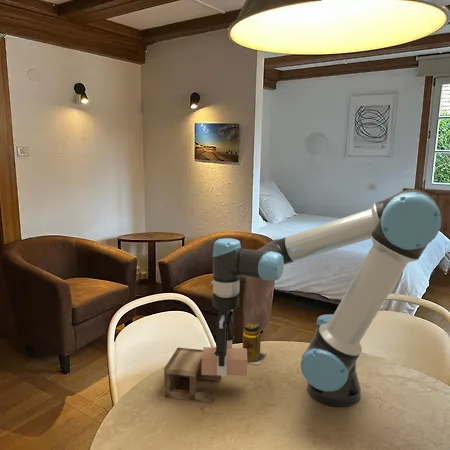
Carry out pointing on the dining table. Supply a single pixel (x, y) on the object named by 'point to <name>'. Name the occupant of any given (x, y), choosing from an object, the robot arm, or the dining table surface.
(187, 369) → the dock
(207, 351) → the pink rectangular block
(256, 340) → the condiment
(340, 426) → the dining table surface
